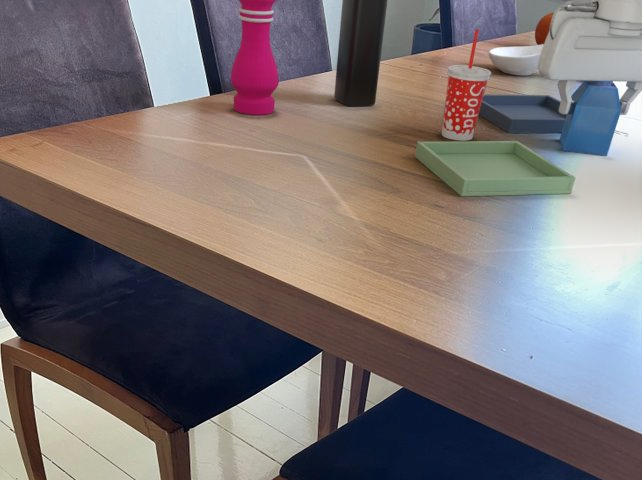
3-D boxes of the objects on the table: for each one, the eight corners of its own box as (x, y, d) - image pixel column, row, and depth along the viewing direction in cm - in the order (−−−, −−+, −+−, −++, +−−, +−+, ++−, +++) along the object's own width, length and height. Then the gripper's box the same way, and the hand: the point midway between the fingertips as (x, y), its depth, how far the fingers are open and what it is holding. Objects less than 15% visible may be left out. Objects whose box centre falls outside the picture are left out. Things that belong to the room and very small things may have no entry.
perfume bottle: (606, 155, 106) (635, 64, 99) (563, 150, 107) (589, 59, 100) (600, 144, 111) (627, 56, 104) (559, 139, 112) (583, 51, 104)
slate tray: (545, 107, 128) (549, 95, 126) (594, 132, 116) (598, 119, 115) (466, 107, 124) (469, 94, 123) (508, 133, 112) (511, 119, 111)
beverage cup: (443, 141, 106) (463, 32, 98) (431, 129, 111) (449, 24, 102) (483, 142, 107) (506, 34, 99) (469, 130, 112) (490, 26, 103)
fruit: (575, 51, 175) (585, 12, 170) (578, 59, 167) (589, 19, 162) (530, 45, 176) (539, 7, 171) (531, 53, 168) (540, 13, 163)
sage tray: (514, 155, 103) (517, 140, 102) (571, 193, 92) (575, 177, 91) (414, 156, 100) (417, 141, 98) (461, 196, 88) (464, 179, 87)
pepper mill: (237, 101, 116) (239, -51, 103) (282, 107, 115) (289, -46, 103) (224, 112, 110) (224, -47, 98) (271, 118, 109) (277, -42, 97)
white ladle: (484, 74, 146) (493, 34, 141) (485, 63, 155) (493, 25, 150) (606, 89, 143) (618, 48, 139) (599, 77, 152) (610, 38, 148)
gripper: (569, 4, 93) (540, 119, 101) (703, 10, 98) (664, 120, 106) (545, -4, 97) (518, 107, 106) (673, 3, 102) (638, 108, 111)
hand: (592, 113), depth 106 cm, fingers closed on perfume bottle, 7 cm apart
